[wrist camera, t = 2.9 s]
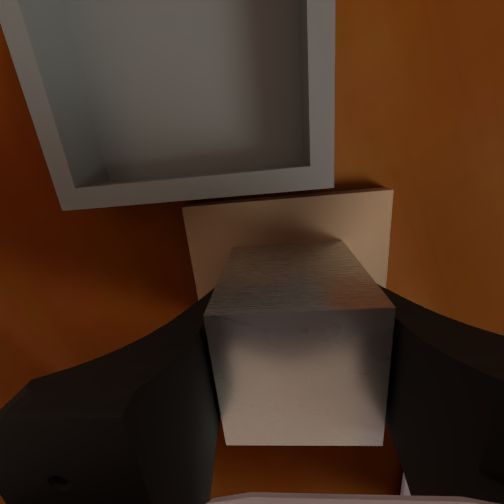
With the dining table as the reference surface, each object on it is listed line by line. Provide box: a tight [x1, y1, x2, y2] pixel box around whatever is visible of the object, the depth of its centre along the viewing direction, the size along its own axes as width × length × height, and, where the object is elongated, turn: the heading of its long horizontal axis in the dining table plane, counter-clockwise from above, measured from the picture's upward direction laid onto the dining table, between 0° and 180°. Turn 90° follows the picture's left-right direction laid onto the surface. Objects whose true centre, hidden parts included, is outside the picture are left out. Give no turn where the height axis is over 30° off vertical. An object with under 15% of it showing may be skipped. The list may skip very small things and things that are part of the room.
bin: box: [0, 0, 335, 211], centre depth 9 cm, size 9×9×3 cm
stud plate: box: [182, 187, 394, 301], centre depth 11 cm, size 8×8×3 cm
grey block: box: [203, 240, 396, 446], centre depth 9 cm, size 4×4×5 cm
